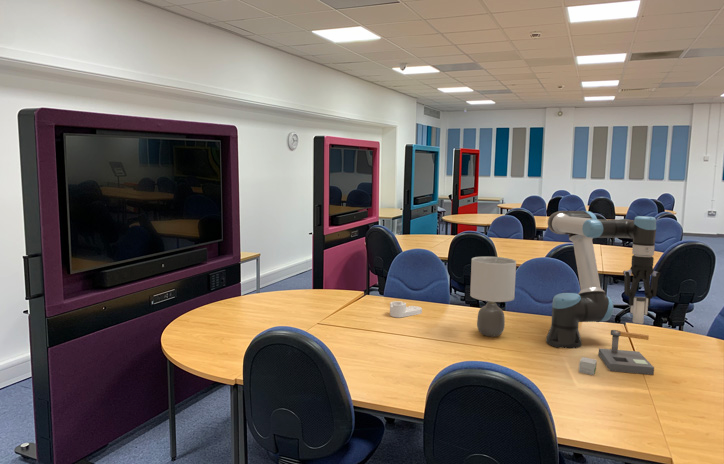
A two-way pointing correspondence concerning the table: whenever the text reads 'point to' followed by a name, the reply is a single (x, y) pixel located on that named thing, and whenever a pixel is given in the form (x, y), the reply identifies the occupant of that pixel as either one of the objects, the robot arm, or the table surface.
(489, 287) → the lamp
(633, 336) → the clip
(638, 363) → the socket plate
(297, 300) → the table surface
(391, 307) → the bracket
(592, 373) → the small box
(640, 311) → the plug
